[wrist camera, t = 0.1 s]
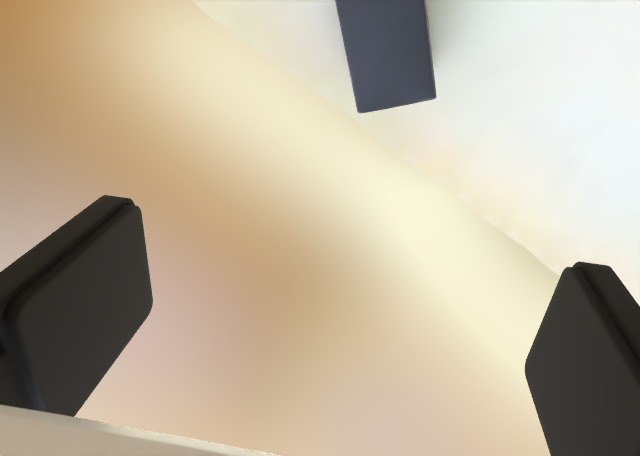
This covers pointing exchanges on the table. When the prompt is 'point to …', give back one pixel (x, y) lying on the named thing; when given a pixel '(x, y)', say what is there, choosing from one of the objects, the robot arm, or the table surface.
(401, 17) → the small box
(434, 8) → the table surface
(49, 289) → the robot arm
